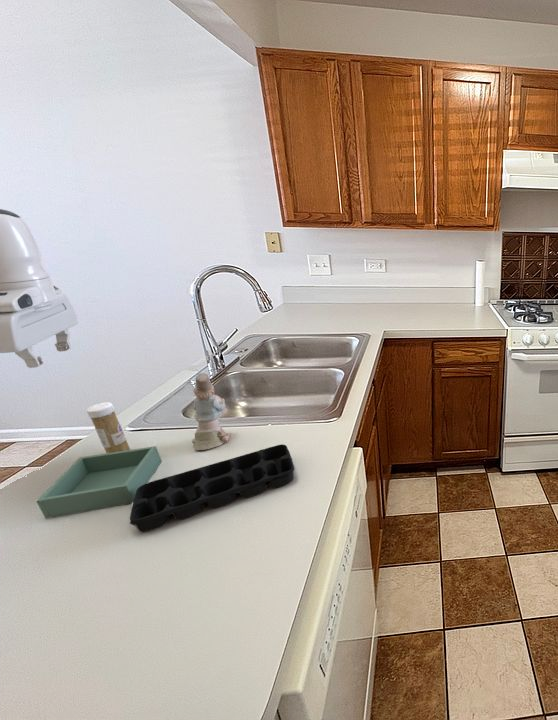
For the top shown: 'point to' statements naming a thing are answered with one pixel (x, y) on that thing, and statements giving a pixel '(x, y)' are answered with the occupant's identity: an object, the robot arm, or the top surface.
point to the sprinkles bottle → (108, 427)
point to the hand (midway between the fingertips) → (51, 357)
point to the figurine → (208, 415)
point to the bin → (100, 482)
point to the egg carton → (210, 486)
